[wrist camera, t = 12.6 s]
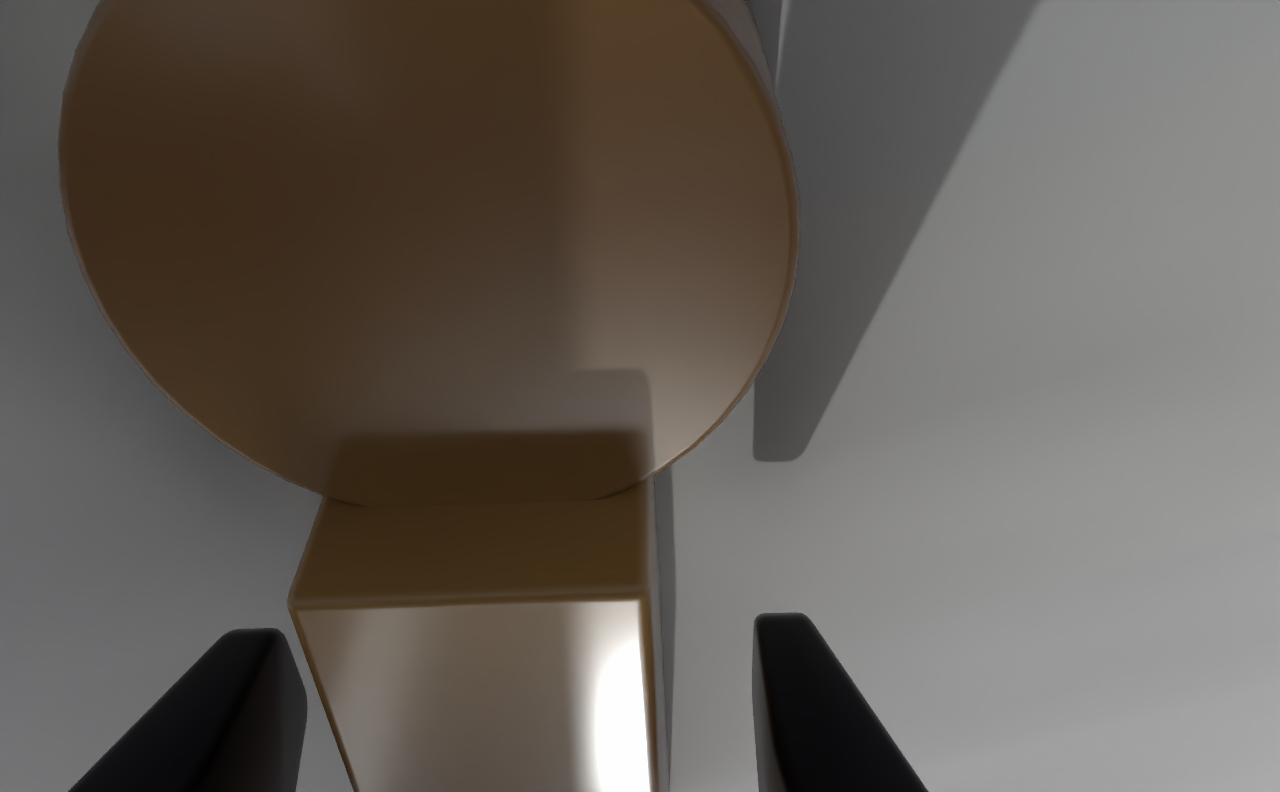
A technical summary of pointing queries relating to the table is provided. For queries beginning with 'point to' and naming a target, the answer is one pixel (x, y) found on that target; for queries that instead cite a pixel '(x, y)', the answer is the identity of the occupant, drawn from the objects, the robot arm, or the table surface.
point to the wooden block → (448, 330)
